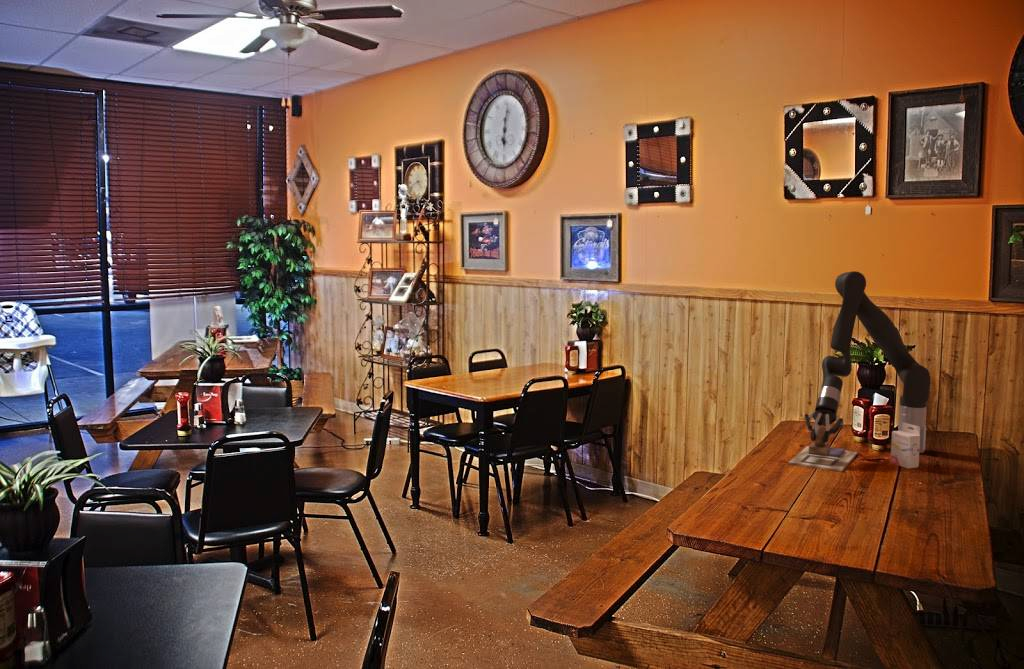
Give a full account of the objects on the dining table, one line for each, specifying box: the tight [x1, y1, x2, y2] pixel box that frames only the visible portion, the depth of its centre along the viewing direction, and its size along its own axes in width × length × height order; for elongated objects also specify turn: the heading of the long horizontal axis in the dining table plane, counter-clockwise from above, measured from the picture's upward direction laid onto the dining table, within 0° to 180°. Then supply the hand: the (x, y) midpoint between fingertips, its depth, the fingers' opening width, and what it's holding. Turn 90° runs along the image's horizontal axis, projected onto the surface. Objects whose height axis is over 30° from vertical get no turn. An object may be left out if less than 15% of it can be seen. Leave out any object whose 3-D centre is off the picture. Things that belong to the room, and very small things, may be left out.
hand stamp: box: [808, 426, 831, 456], centre depth 300 cm, size 6×6×9 cm
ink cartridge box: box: [889, 422, 920, 470], centre depth 297 cm, size 9×5×15 cm, turn 22°
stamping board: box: [788, 445, 858, 472], centre depth 306 cm, size 18×28×2 cm, turn 147°
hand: (818, 440), depth 299 cm, fingers closed on hand stamp, 3 cm apart
